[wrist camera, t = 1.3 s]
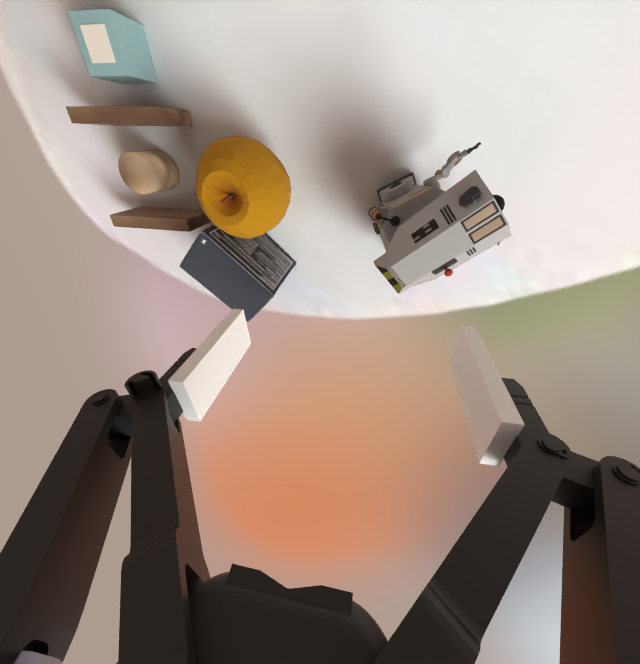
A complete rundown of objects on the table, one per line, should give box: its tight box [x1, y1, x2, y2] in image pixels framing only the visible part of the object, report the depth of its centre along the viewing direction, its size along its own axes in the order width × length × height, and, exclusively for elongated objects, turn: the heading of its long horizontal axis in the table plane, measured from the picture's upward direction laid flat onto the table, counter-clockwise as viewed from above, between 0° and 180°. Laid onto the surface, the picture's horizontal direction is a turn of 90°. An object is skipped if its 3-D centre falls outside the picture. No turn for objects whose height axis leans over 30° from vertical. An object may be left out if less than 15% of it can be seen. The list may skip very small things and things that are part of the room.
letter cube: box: [67, 9, 157, 84], centre depth 28 cm, size 4×4×5 cm
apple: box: [195, 136, 291, 239], centre depth 30 cm, size 10×10×12 cm
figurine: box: [369, 143, 511, 294], centre depth 27 cm, size 9×12×15 cm
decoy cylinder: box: [119, 151, 179, 194], centre depth 34 cm, size 4×4×5 cm
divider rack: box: [66, 106, 211, 232], centre depth 28 cm, size 34×11×6 cm, turn 179°
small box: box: [180, 225, 296, 322], centre depth 36 cm, size 11×6×10 cm, turn 46°
